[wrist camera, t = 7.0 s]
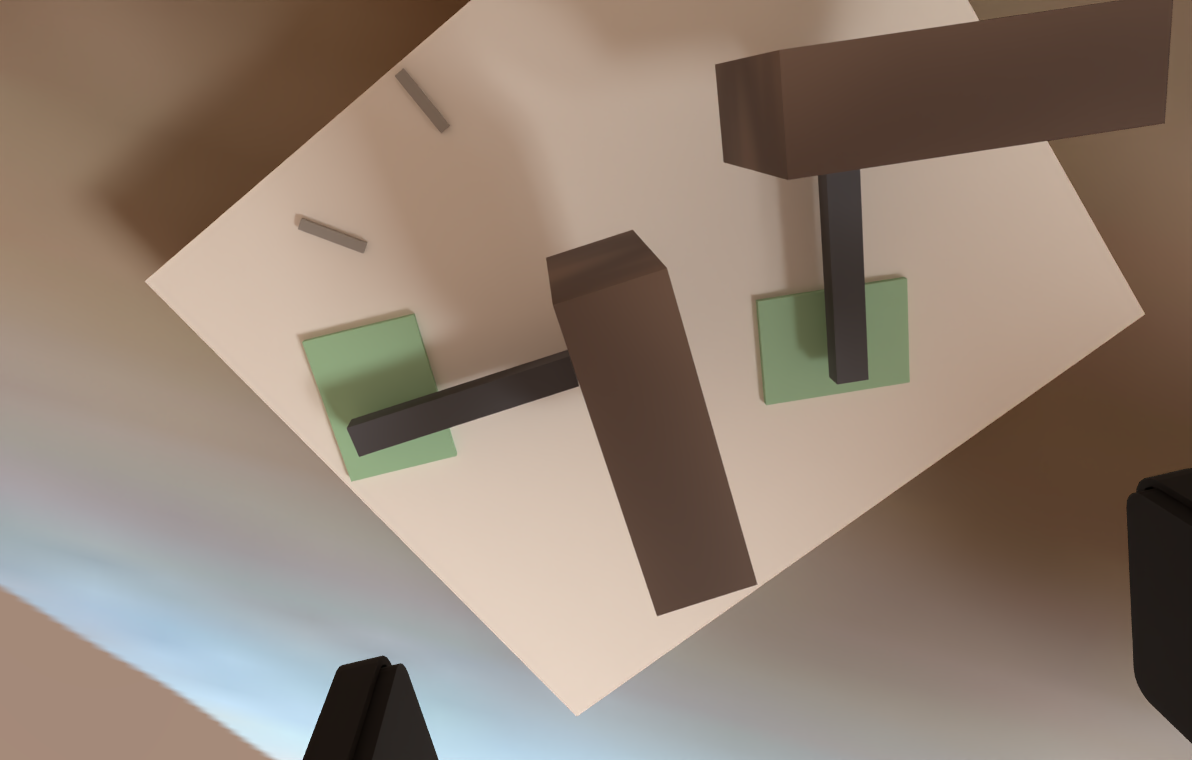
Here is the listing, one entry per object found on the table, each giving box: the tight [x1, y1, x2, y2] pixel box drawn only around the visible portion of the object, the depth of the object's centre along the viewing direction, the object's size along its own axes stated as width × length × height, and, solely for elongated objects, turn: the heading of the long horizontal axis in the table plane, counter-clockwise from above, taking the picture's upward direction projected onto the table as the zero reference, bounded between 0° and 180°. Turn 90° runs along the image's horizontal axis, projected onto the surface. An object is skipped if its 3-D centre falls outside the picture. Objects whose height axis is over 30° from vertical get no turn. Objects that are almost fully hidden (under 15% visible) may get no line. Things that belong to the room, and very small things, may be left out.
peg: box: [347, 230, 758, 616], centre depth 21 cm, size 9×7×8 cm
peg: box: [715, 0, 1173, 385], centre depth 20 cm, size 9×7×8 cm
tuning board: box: [145, 0, 1145, 716], centre depth 26 cm, size 19×22×3 cm
